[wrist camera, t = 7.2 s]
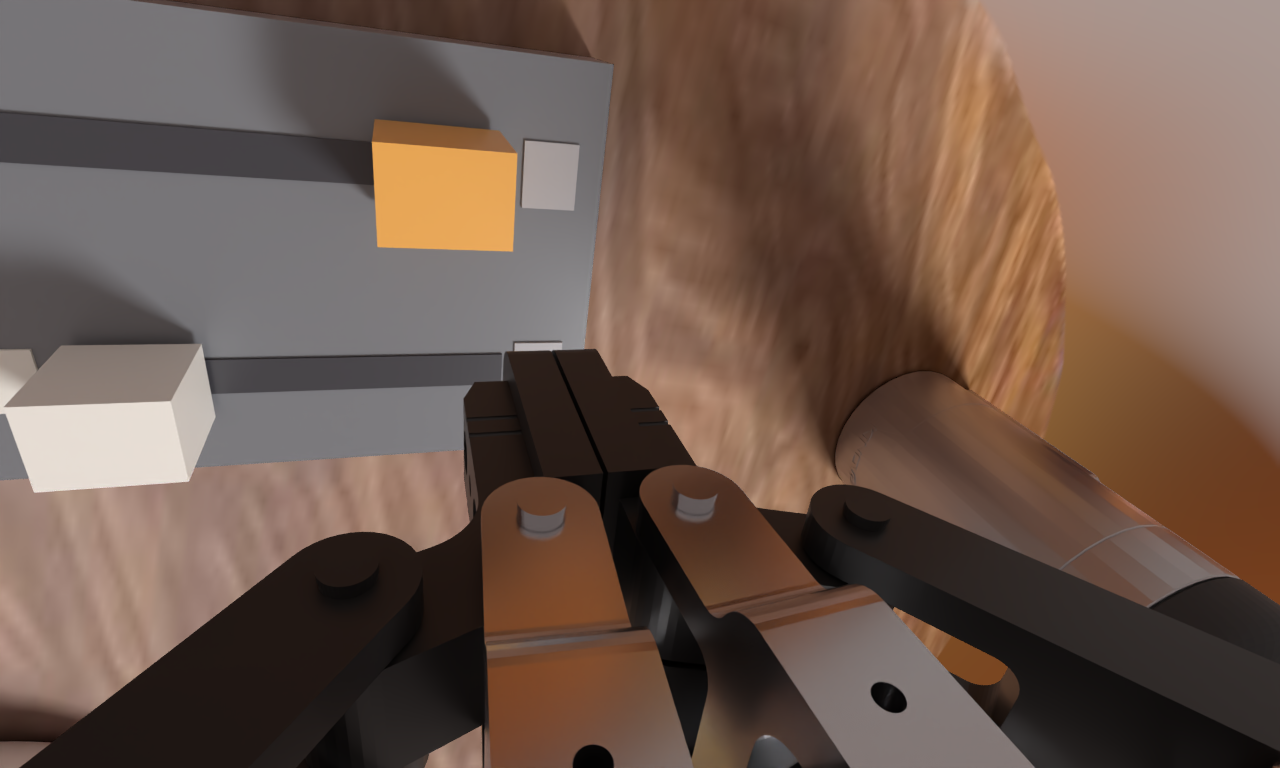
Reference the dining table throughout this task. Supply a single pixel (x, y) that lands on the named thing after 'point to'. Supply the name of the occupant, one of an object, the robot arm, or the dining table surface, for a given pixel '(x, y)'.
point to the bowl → (18, 752)
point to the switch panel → (280, 216)
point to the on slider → (113, 416)
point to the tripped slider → (443, 187)
